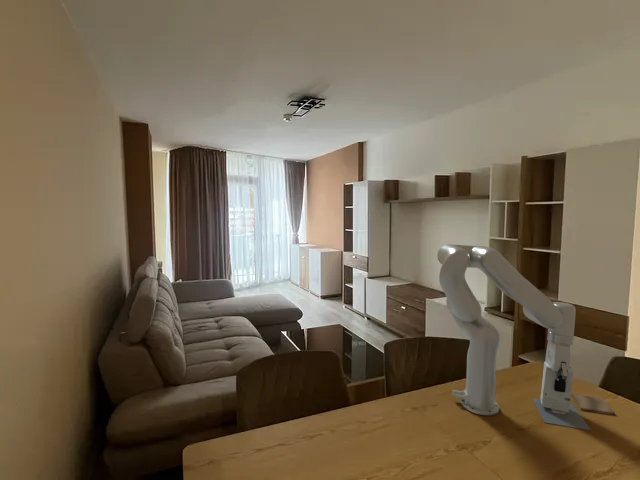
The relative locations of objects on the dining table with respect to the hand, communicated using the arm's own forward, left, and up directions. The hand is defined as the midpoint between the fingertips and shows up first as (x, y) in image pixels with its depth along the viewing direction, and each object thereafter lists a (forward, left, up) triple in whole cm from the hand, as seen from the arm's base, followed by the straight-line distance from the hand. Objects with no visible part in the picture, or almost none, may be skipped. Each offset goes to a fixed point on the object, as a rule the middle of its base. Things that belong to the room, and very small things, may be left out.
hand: (556, 386), depth 125 cm
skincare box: (0, 0, -8) cm, 8 cm away
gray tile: (+1, -3, -8) cm, 9 cm away
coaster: (+14, +7, -8) cm, 17 cm away
